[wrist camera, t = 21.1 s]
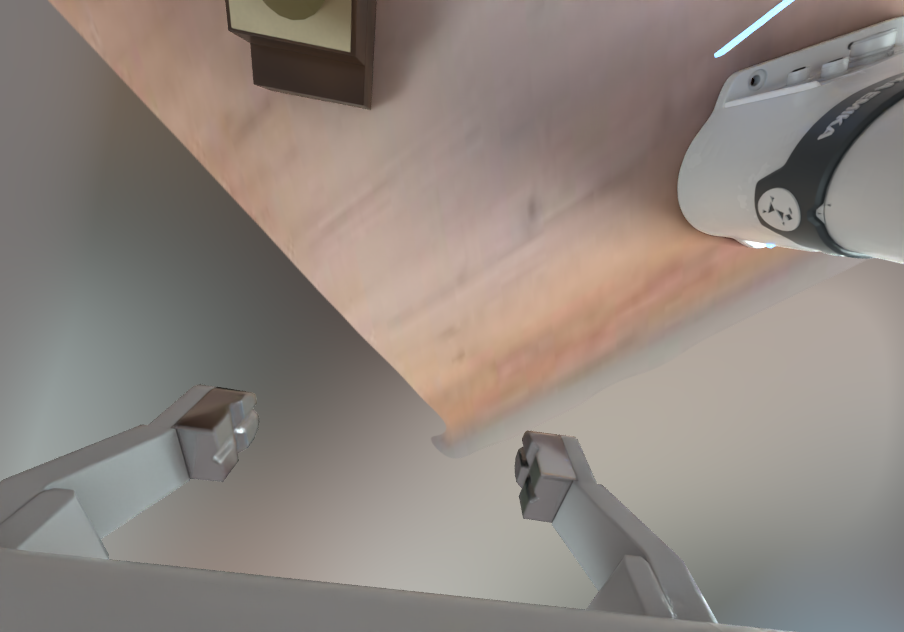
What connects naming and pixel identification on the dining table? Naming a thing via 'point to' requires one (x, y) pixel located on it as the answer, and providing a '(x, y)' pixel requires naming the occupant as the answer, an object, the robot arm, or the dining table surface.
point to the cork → (294, 8)
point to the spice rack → (311, 49)
